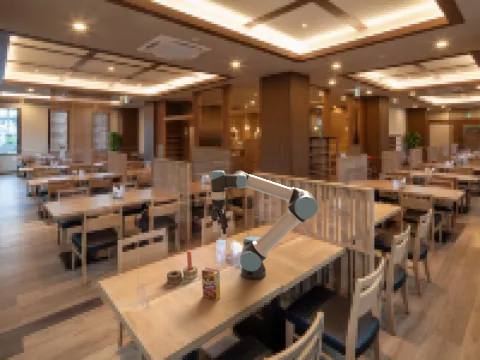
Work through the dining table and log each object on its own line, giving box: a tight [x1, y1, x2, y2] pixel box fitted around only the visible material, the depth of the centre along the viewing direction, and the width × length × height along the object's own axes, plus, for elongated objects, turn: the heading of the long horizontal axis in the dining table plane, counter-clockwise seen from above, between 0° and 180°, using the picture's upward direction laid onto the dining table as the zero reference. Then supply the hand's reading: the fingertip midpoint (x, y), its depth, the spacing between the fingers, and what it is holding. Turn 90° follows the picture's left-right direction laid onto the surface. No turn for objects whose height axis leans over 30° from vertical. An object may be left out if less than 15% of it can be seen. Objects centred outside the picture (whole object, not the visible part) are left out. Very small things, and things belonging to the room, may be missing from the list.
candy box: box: [201, 267, 221, 302], centre depth 154 cm, size 9×4×15 cm, turn 61°
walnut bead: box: [166, 270, 183, 286], centre depth 171 cm, size 8×8×5 cm
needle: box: [186, 250, 193, 270], centre depth 176 cm, size 3×3×16 cm
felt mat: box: [165, 274, 200, 287], centre depth 174 cm, size 18×10×1 cm, turn 114°
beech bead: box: [182, 265, 199, 280], centre depth 177 cm, size 8×8×5 cm
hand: (219, 235), depth 165 cm, fingers open, 13 cm apart
